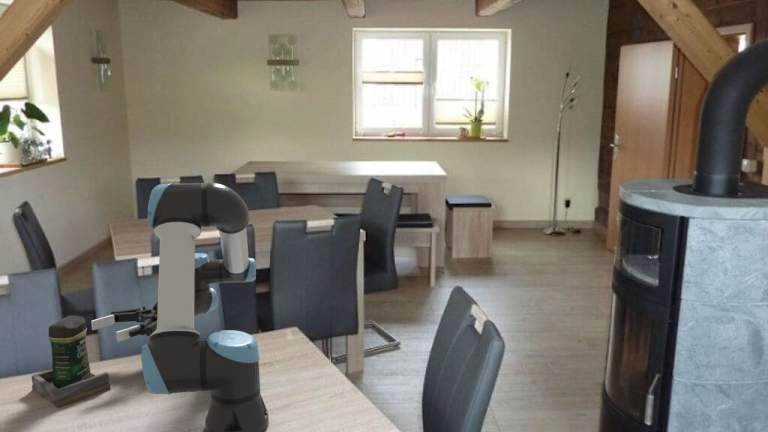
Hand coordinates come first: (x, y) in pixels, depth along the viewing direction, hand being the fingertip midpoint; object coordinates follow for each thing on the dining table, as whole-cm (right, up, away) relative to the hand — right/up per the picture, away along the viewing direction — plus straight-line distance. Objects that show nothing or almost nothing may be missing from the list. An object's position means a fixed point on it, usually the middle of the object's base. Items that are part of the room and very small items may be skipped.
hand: (104, 331), depth 182 cm
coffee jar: (-7, -14, -4) cm, 16 cm away
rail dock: (-7, -15, -5) cm, 17 cm away
